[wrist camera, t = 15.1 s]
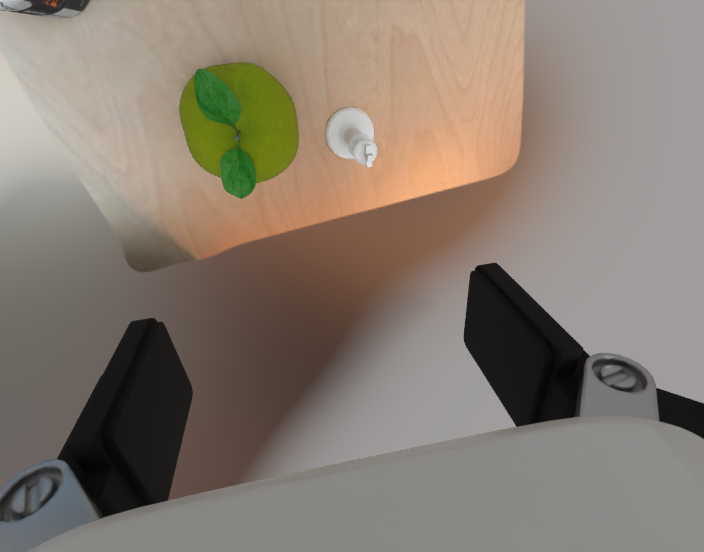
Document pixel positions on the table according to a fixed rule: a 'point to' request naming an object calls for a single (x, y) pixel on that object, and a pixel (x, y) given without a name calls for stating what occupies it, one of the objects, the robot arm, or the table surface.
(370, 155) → the chess piece
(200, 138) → the fruit
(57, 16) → the pill bottle
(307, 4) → the table surface
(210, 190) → the table surface
